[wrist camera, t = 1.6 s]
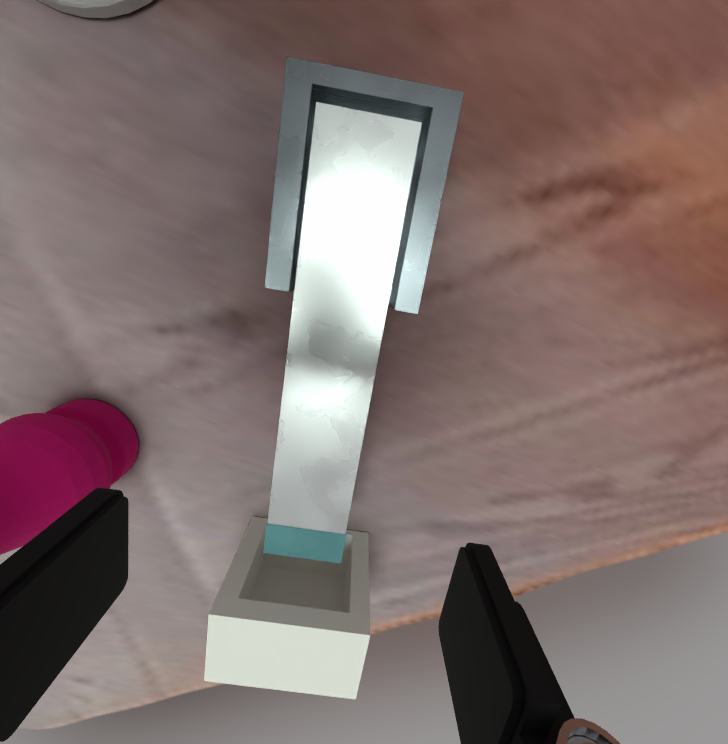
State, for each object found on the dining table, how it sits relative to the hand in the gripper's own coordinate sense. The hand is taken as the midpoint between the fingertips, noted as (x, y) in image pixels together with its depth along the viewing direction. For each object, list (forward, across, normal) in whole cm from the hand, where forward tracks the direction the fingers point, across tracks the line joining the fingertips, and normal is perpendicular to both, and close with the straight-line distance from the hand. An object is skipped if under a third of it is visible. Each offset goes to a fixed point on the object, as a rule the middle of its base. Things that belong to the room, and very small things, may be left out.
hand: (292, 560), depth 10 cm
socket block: (+16, 0, +13) cm, 20 cm away
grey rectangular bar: (+14, 0, -3) cm, 15 cm away
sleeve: (+15, 0, -11) cm, 19 cm away
